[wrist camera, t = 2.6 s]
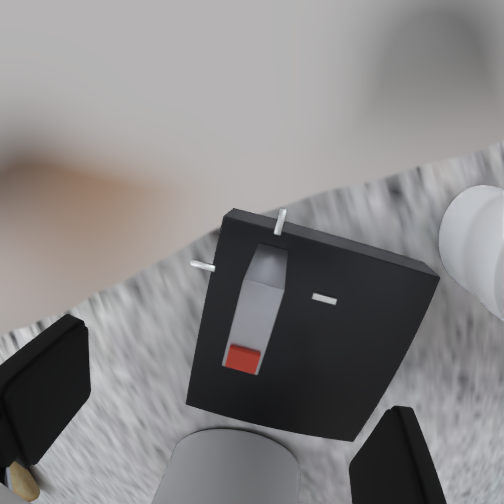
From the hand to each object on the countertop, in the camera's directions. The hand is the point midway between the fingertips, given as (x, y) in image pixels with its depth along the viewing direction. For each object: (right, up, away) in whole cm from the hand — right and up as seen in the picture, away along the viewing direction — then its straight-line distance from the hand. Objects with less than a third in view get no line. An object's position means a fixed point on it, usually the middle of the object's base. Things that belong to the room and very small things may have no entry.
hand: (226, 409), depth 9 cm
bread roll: (-41, -34, +29) cm, 61 cm away
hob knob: (+1, +3, +9) cm, 10 cm away
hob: (+4, -1, +13) cm, 14 cm away
